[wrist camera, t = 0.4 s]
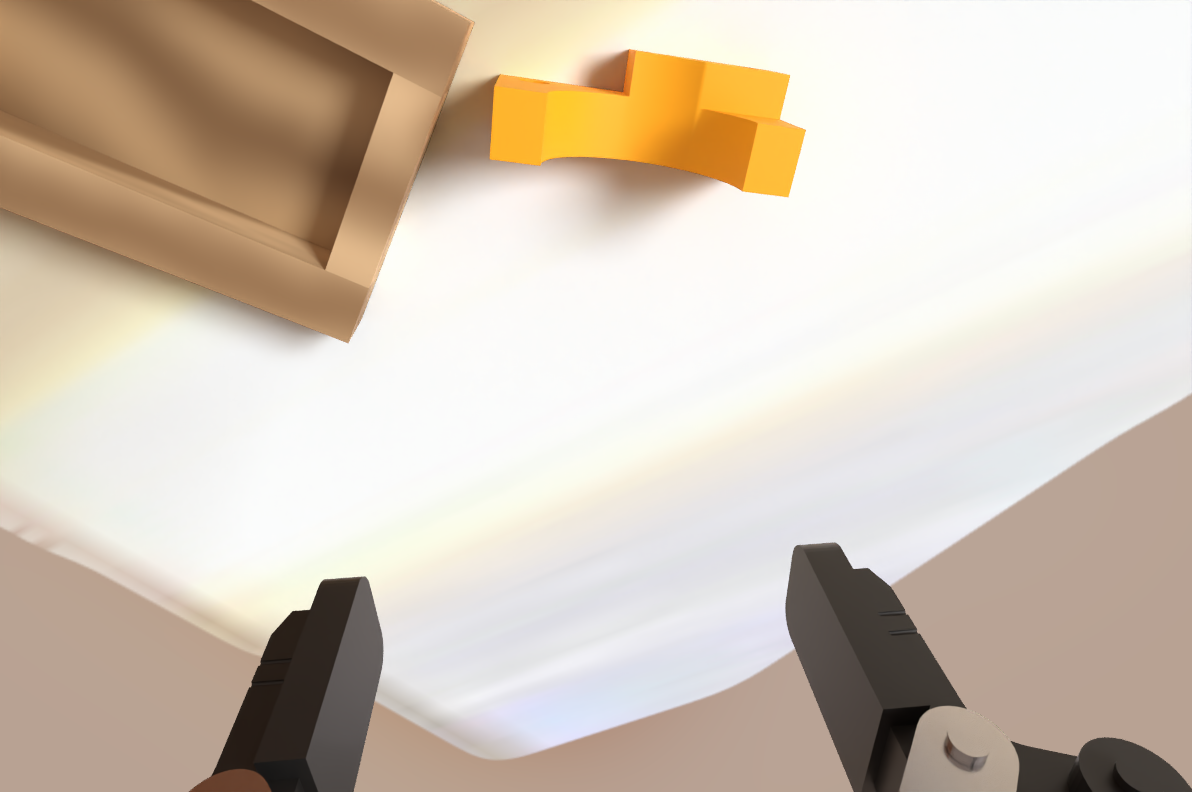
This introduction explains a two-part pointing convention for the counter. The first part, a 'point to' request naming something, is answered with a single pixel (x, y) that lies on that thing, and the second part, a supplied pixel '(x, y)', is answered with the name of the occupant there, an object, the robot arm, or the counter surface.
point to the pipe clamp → (657, 121)
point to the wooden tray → (228, 136)
